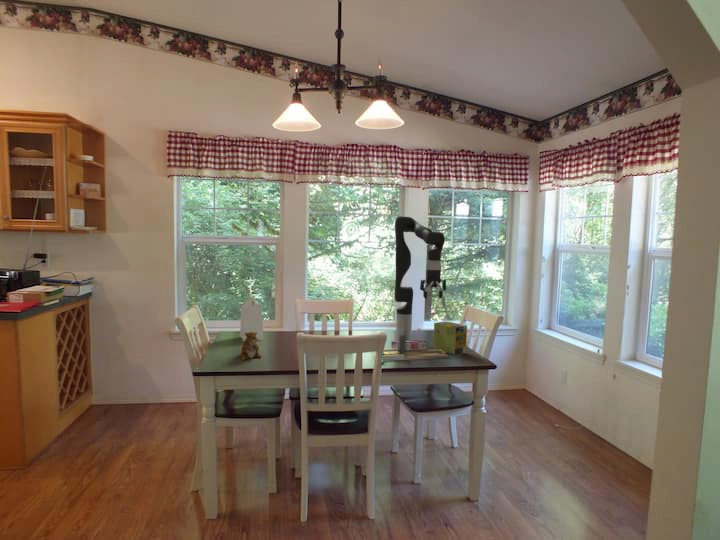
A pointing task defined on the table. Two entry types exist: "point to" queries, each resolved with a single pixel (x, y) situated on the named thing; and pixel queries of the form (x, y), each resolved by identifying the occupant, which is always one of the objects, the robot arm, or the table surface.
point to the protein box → (450, 337)
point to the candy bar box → (411, 345)
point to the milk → (251, 319)
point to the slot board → (425, 354)
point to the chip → (395, 352)
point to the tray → (392, 356)
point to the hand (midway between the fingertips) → (432, 298)
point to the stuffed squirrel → (250, 346)
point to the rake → (401, 344)
